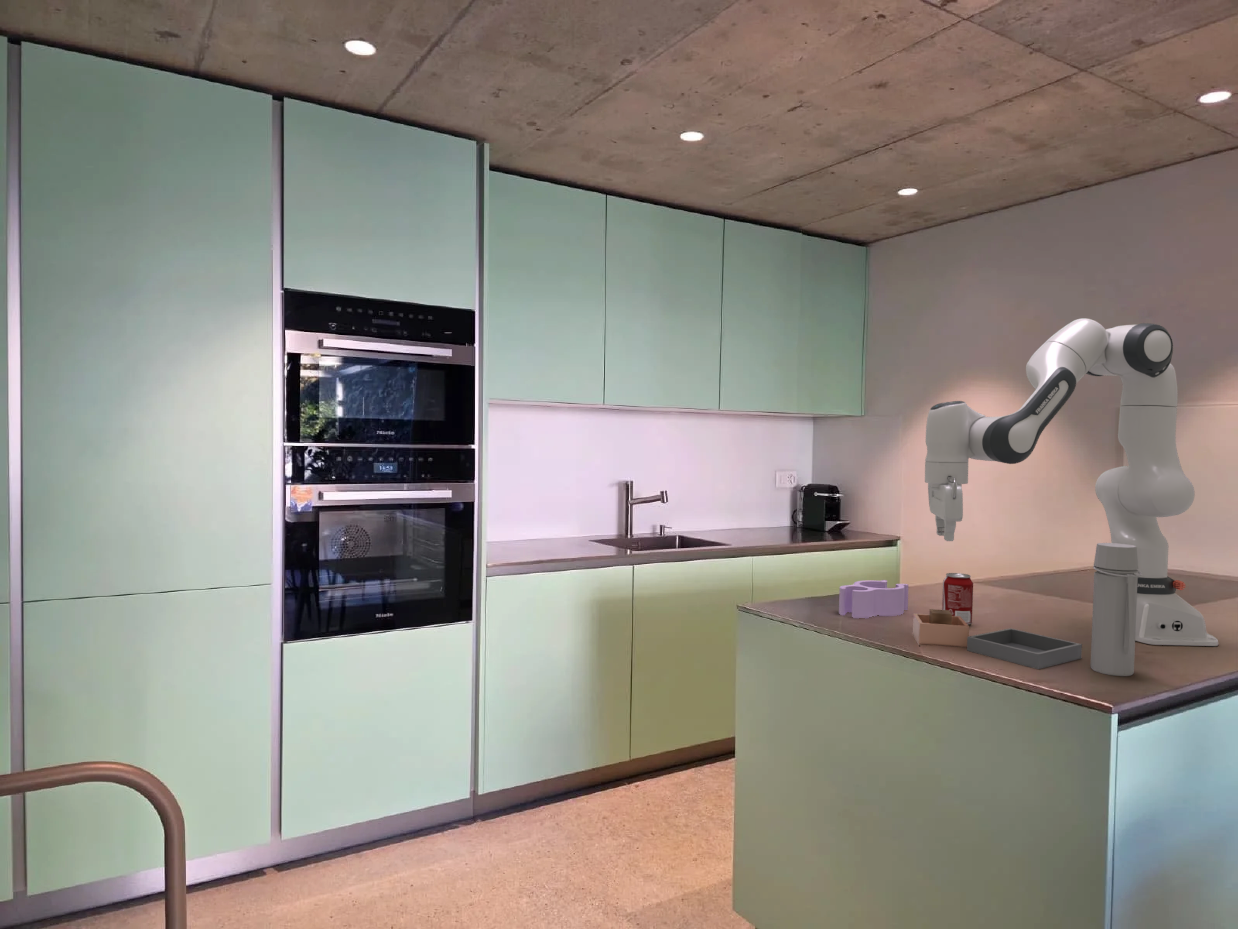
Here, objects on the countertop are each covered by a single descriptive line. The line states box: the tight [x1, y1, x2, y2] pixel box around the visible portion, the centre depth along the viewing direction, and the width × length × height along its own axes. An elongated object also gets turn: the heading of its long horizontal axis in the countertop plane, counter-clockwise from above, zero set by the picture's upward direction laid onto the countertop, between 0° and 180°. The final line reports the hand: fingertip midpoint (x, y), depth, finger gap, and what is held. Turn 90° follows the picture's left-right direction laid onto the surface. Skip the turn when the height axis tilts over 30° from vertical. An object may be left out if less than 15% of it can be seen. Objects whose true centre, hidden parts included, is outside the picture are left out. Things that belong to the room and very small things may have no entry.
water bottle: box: [1090, 542, 1142, 677], centre depth 155 cm, size 9×8×25 cm
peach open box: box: [912, 613, 970, 648], centre depth 178 cm, size 10×10×5 cm
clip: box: [838, 579, 909, 619], centre depth 208 cm, size 20×12×7 cm, turn 125°
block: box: [928, 608, 952, 625], centre depth 178 cm, size 4×4×6 cm
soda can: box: [941, 572, 974, 626], centre depth 196 cm, size 7×7×12 cm
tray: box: [966, 627, 1083, 670], centre depth 167 cm, size 15×15×4 cm
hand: (944, 538), depth 178 cm, fingers open, 8 cm apart
